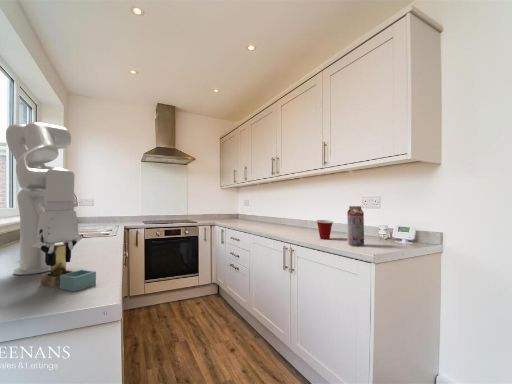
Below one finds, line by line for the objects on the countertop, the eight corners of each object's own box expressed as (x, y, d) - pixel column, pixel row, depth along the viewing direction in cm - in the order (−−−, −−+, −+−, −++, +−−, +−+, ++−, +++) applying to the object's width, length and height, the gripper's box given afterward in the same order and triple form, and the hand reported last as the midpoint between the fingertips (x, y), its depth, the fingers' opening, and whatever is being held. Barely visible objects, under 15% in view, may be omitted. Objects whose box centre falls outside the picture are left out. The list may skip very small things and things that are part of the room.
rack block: (59, 288, 76) (59, 275, 76) (82, 281, 82) (82, 269, 83) (74, 291, 74) (74, 277, 74) (95, 284, 80) (95, 271, 80)
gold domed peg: (47, 277, 81) (48, 246, 81) (60, 273, 85) (61, 243, 85) (55, 279, 80) (55, 247, 80) (68, 275, 83) (69, 244, 84)
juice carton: (364, 246, 139) (363, 206, 140) (352, 246, 140) (351, 206, 140) (359, 244, 146) (358, 206, 147) (347, 244, 146) (347, 206, 147)
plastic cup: (324, 240, 158) (324, 221, 159) (313, 238, 168) (312, 220, 168) (337, 239, 164) (337, 220, 164) (325, 237, 173) (324, 219, 173)
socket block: (40, 284, 80) (40, 275, 80) (63, 278, 86) (63, 269, 86) (53, 287, 77) (53, 277, 78) (76, 280, 84) (76, 271, 84)
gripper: (78, 206, 92) (77, 256, 92) (21, 208, 76) (19, 268, 76) (92, 206, 89) (91, 258, 89) (36, 208, 73) (34, 272, 73)
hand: (58, 262), depth 82 cm, fingers closed on gold domed peg, 4 cm apart
